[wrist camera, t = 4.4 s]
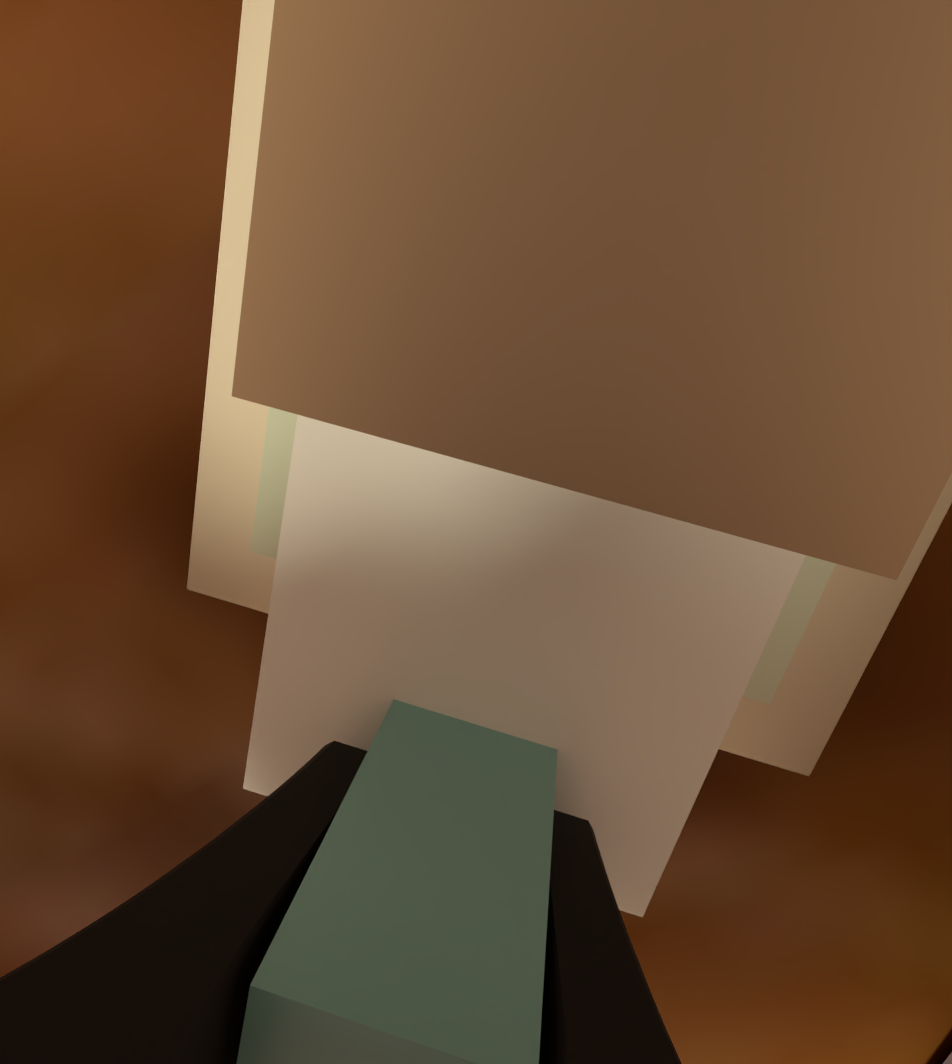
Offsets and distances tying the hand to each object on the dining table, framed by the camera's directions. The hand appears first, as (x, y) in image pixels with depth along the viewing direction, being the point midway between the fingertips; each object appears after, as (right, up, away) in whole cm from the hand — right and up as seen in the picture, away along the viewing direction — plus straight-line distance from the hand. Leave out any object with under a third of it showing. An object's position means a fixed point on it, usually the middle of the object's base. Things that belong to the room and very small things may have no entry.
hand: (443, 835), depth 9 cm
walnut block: (+2, +8, -2) cm, 8 cm away
